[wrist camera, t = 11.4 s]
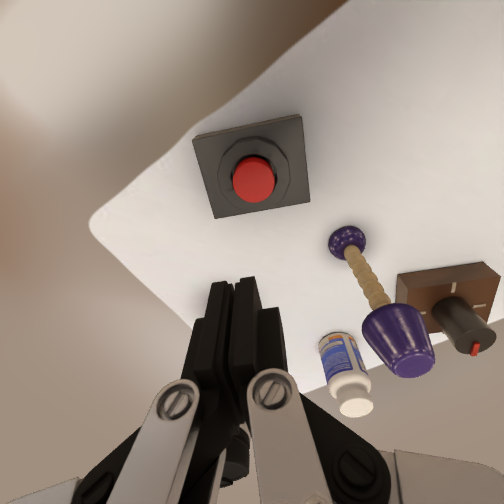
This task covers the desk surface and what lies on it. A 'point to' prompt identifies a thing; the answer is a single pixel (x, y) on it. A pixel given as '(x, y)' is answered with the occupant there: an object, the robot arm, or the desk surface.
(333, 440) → the robot arm
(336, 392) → the pill bottle
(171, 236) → the desk surface
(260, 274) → the desk surface
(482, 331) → the dimmer knob
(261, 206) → the switch block
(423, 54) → the desk surface
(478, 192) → the desk surface
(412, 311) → the toy lamp
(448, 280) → the dimmer panel
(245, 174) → the button
